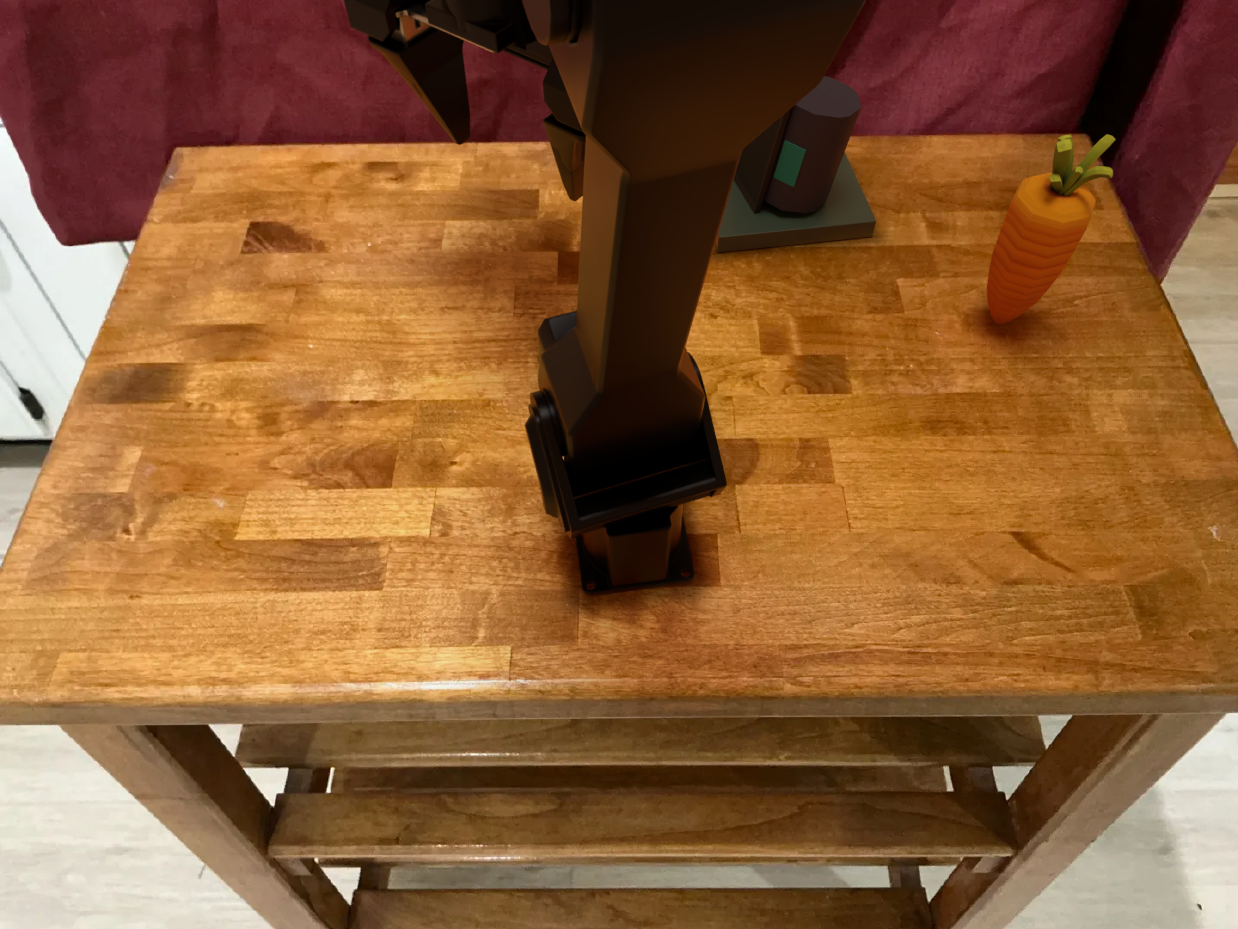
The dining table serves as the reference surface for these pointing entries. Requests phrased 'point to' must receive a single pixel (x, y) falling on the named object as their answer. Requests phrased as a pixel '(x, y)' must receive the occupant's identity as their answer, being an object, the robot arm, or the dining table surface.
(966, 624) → the dining table surface
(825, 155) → the speaker
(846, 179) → the dark grey square base
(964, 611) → the dining table surface
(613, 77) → the robot arm
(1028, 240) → the carrot
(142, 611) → the dining table surface
